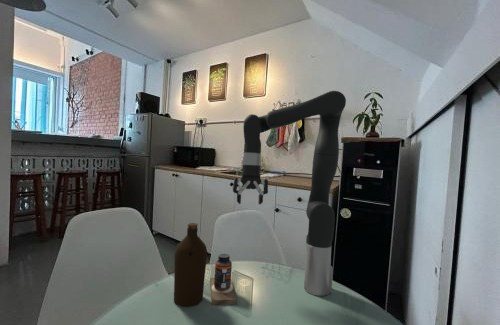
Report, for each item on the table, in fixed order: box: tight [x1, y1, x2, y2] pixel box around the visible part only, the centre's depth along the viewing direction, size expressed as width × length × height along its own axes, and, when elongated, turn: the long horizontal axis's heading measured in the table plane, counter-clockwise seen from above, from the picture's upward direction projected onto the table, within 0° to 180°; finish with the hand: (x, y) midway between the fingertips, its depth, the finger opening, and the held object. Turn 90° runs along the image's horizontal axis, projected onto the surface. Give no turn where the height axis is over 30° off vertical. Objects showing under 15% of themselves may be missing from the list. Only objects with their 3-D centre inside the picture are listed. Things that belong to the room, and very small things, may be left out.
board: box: [209, 277, 238, 306], centre depth 87 cm, size 8×16×2 cm, turn 11°
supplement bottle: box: [213, 253, 233, 290], centre depth 87 cm, size 6×6×11 cm
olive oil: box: [173, 222, 208, 308], centre depth 81 cm, size 11×11×25 cm
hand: (249, 203), depth 99 cm, fingers open, 8 cm apart
